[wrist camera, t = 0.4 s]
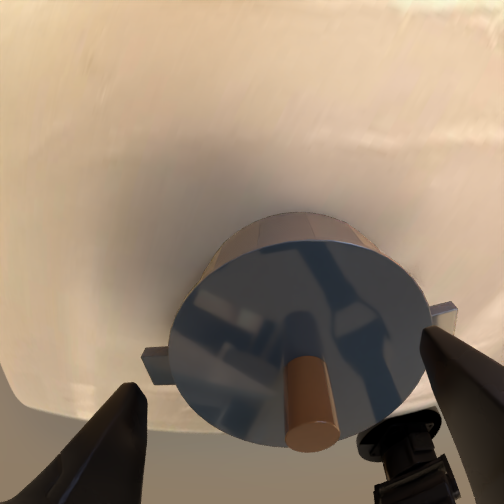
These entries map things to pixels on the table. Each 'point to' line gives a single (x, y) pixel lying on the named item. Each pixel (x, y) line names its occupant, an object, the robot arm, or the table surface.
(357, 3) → the table surface
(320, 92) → the table surface
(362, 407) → the lid
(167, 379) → the pot
